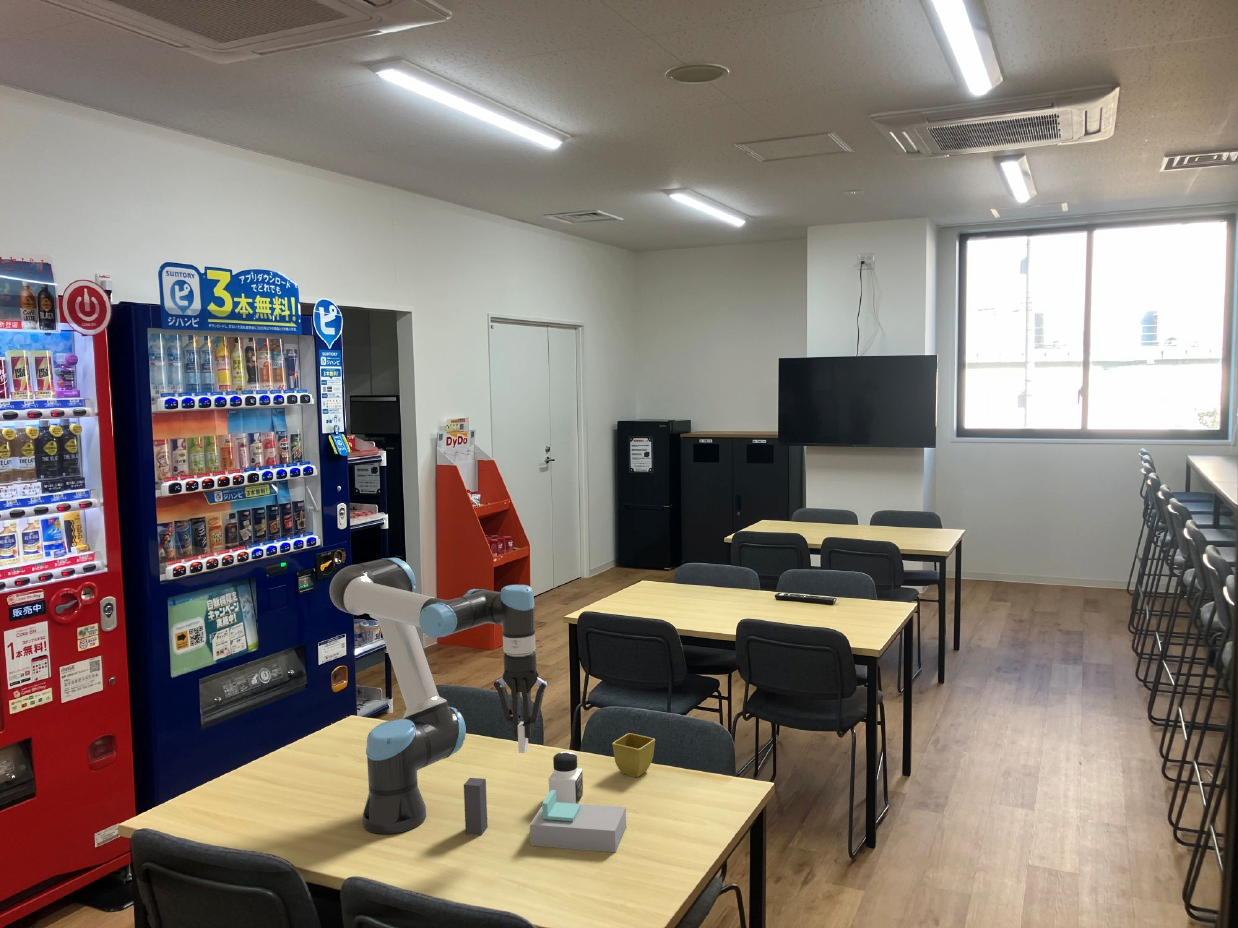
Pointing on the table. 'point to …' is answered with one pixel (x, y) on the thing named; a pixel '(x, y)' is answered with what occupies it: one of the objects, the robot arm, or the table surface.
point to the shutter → (558, 809)
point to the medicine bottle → (566, 778)
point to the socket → (581, 829)
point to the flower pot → (633, 754)
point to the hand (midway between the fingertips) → (523, 750)
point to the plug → (475, 806)
